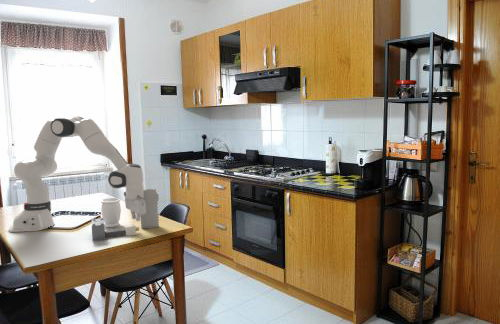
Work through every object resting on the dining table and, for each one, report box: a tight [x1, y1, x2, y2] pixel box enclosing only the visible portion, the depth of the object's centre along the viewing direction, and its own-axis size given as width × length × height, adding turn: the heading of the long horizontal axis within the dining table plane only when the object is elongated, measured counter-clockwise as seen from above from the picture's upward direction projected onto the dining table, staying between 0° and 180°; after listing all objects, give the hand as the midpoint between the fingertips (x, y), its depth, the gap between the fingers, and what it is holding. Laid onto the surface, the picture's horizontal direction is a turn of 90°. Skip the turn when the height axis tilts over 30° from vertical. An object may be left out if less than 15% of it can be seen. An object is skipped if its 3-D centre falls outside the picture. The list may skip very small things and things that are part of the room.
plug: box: [105, 223, 140, 239], centre depth 205 cm, size 19×4×4 cm, turn 116°
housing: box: [91, 217, 106, 242], centre depth 202 cm, size 6×13×9 cm, turn 21°
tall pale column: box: [140, 188, 160, 230], centre depth 218 cm, size 11×4×22 cm, turn 116°
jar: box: [100, 197, 122, 228], centre depth 222 cm, size 11×10×15 cm
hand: (136, 219), depth 208 cm, fingers open, 4 cm apart
